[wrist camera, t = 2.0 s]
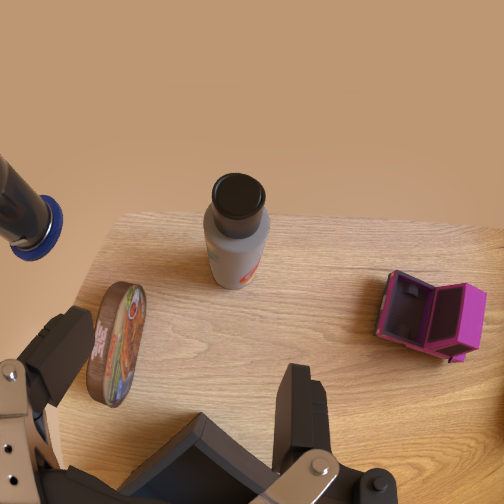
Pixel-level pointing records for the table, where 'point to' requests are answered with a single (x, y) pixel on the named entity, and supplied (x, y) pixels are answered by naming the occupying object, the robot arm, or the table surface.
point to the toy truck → (431, 316)
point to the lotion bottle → (236, 229)
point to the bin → (200, 469)
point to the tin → (116, 343)
